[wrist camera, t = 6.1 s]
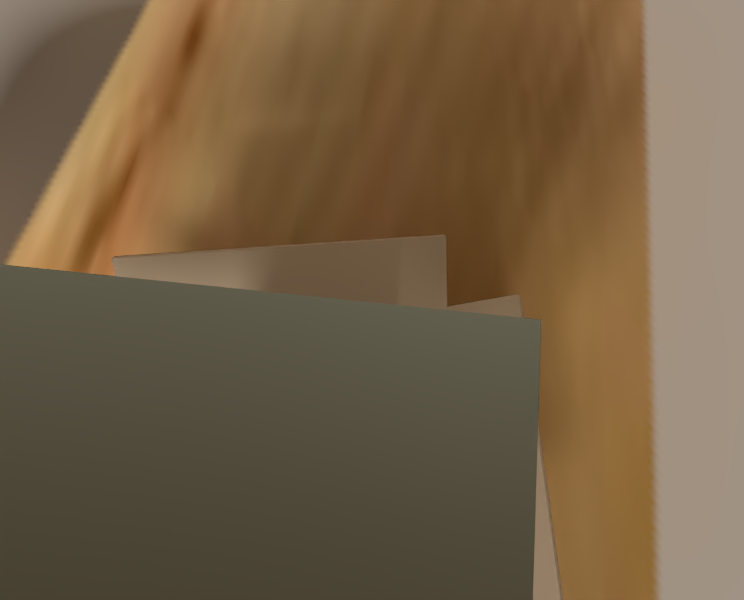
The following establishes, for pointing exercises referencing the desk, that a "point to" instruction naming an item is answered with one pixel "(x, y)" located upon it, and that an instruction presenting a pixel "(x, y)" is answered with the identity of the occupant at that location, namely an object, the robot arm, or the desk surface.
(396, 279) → the carton
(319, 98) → the desk surface
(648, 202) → the desk surface
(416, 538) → the box
